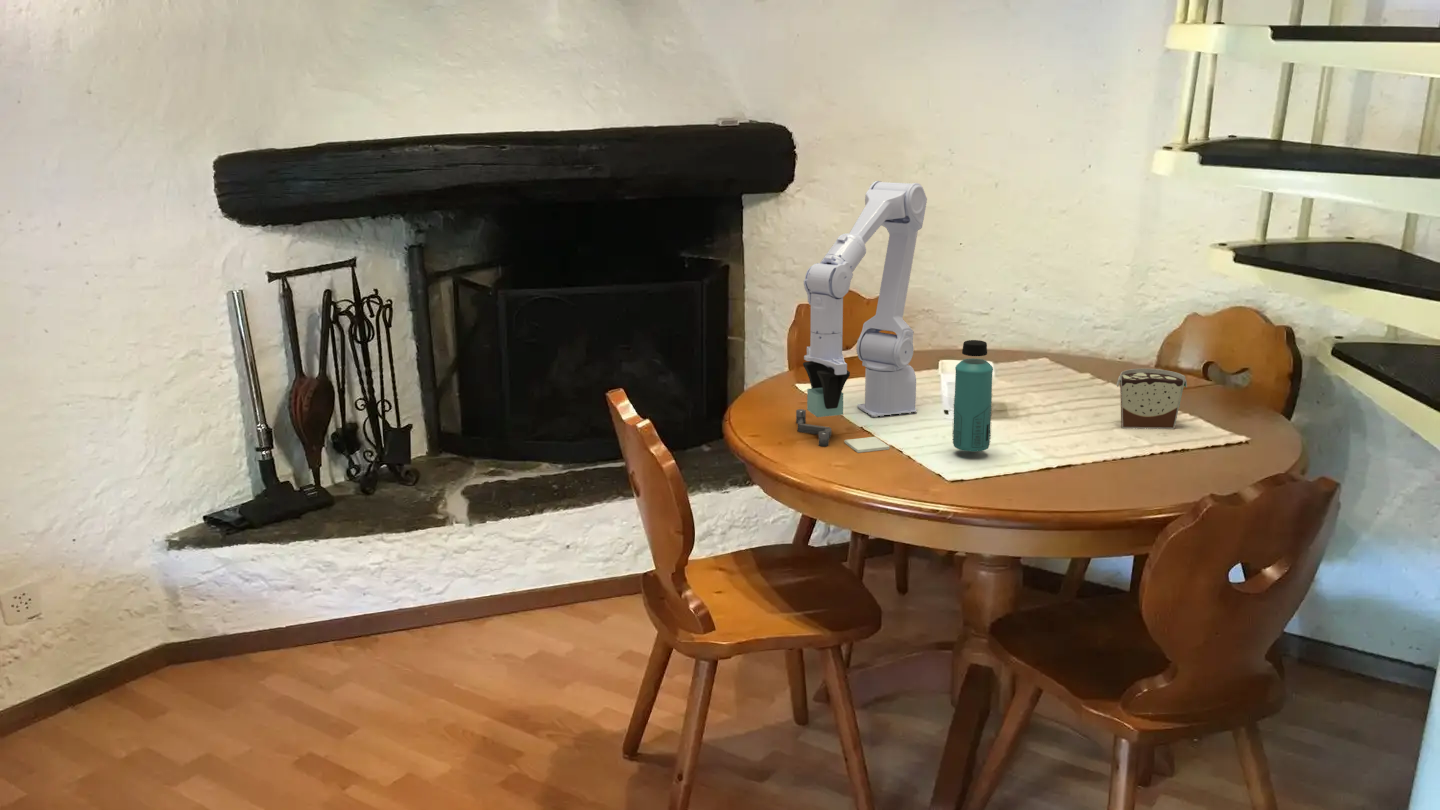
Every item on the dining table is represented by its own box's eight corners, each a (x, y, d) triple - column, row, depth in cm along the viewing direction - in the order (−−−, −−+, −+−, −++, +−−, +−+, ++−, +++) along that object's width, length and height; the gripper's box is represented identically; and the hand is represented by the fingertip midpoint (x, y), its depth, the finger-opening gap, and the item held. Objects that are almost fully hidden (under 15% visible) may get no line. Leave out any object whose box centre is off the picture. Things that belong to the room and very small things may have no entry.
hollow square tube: (832, 407, 206) (832, 386, 205) (843, 414, 201) (843, 393, 200) (807, 409, 204) (807, 388, 203) (817, 417, 200) (817, 395, 199)
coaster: (875, 439, 201) (875, 436, 201) (889, 449, 196) (889, 446, 195) (844, 442, 199) (844, 440, 199) (857, 452, 194) (857, 450, 194)
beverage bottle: (990, 461, 189) (996, 346, 183) (950, 459, 190) (955, 345, 184) (989, 449, 195) (995, 337, 189) (950, 447, 196) (955, 336, 191)
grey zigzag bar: (811, 420, 213) (811, 408, 212) (843, 444, 198) (843, 431, 198) (787, 422, 212) (787, 410, 211) (817, 447, 197) (817, 434, 196)
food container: (1173, 419, 210) (1178, 368, 207) (1182, 429, 204) (1188, 376, 201) (1105, 418, 211) (1110, 367, 208) (1113, 428, 205) (1118, 375, 203)
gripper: (791, 324, 204) (791, 395, 208) (820, 341, 191) (819, 416, 195) (827, 321, 206) (826, 392, 210) (858, 338, 193) (857, 413, 197)
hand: (825, 403), depth 202 cm, fingers closed on hollow square tube, 5 cm apart
